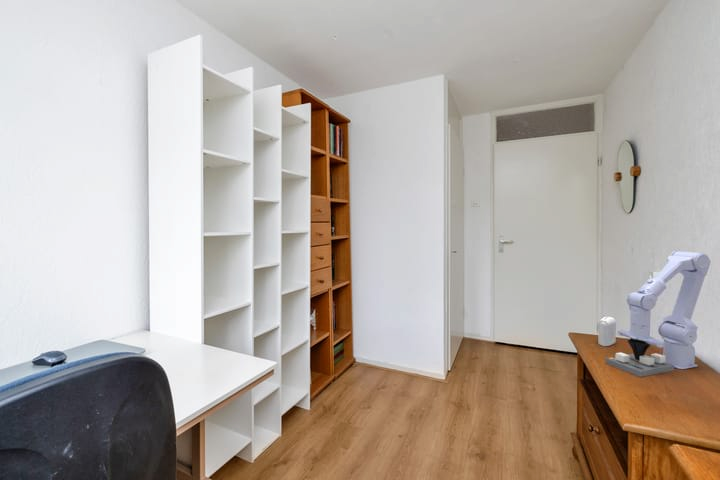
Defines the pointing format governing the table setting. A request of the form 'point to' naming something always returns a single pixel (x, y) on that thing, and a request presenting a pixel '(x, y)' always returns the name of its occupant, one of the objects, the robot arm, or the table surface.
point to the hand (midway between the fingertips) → (638, 359)
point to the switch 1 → (622, 357)
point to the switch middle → (646, 360)
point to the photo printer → (607, 331)
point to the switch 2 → (658, 358)
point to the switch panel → (640, 366)
